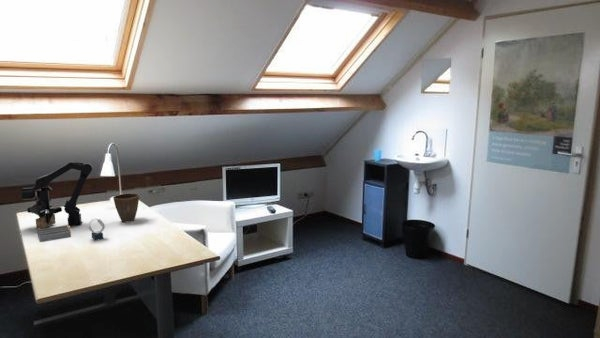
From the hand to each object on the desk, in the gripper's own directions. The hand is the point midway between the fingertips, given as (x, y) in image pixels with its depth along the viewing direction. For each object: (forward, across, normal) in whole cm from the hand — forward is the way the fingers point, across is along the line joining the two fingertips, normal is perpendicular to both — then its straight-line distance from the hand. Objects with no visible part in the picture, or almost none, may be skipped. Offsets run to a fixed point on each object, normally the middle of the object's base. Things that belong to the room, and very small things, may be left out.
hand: (46, 223), depth 243 cm
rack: (+2, +16, -13) cm, 21 cm away
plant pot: (+3, +40, +21) cm, 45 cm away
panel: (+2, 0, 0) cm, 2 cm away
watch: (+3, +43, -14) cm, 46 cm away
